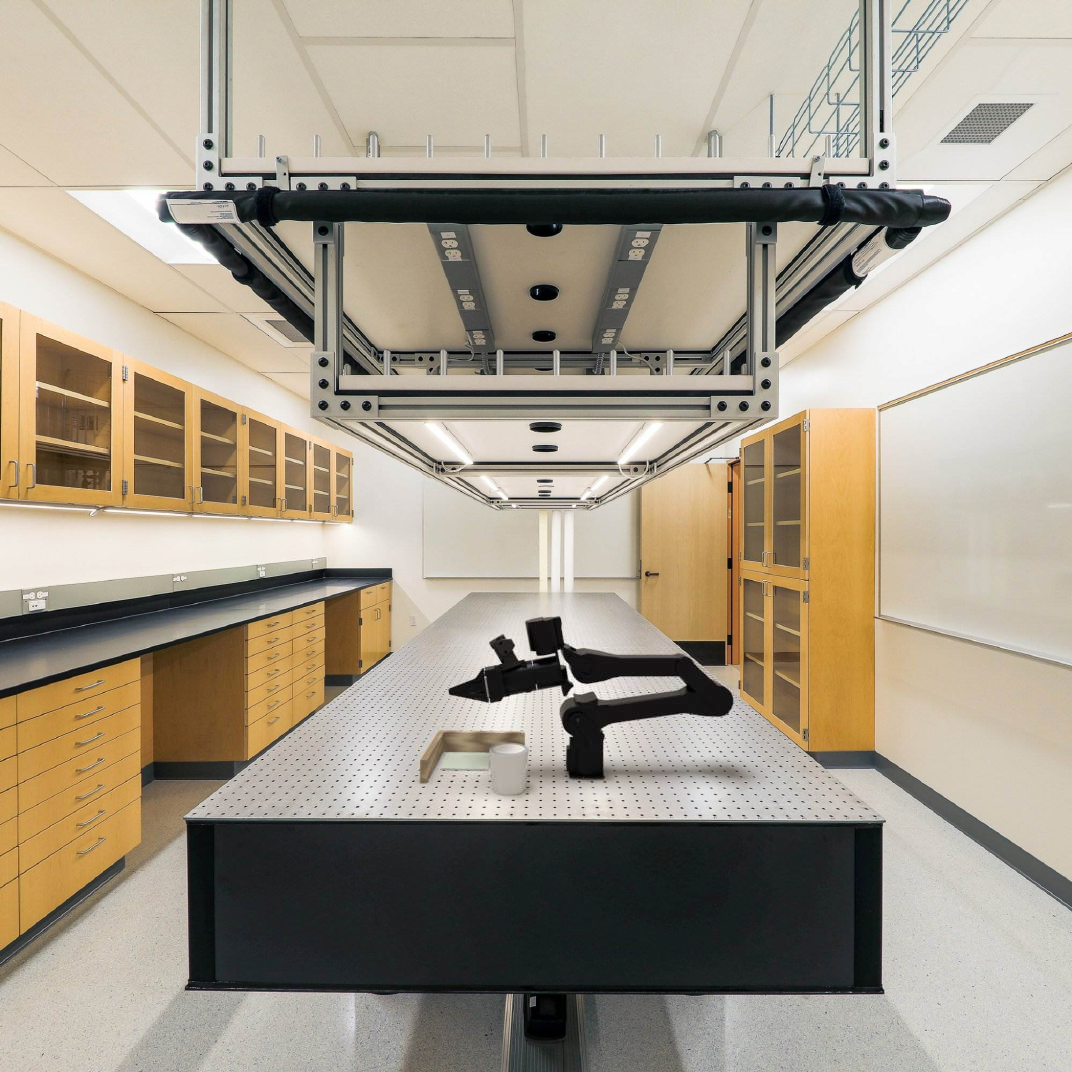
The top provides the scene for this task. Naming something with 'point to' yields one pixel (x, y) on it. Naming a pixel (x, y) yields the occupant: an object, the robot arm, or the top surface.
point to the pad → (466, 761)
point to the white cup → (508, 768)
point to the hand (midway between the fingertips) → (452, 690)
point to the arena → (463, 745)
